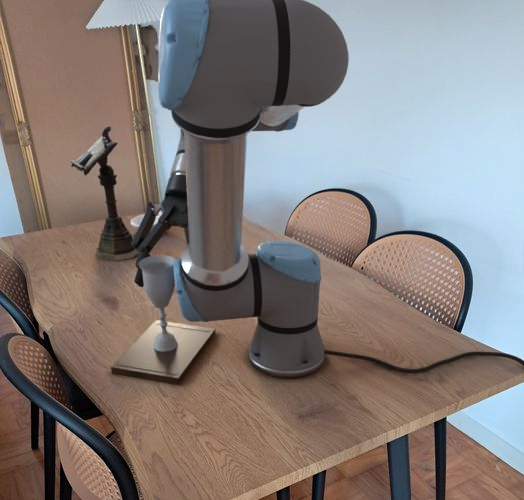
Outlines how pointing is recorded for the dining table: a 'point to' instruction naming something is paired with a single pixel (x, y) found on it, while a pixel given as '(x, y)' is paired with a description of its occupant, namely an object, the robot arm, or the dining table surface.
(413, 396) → the dining table surface
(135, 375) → the serving board
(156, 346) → the chalice
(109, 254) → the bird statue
